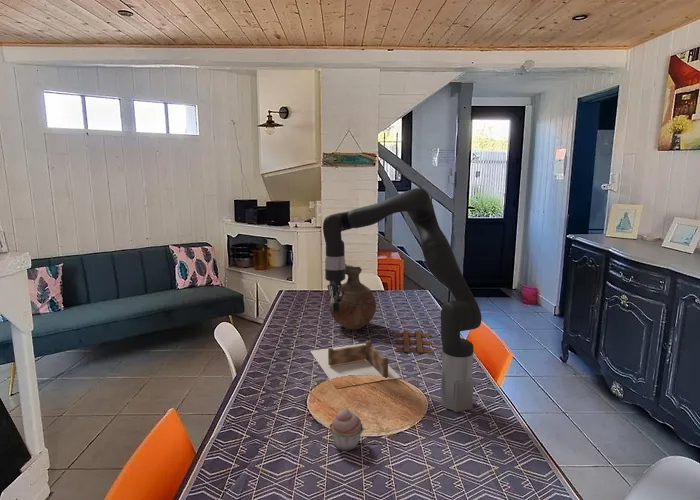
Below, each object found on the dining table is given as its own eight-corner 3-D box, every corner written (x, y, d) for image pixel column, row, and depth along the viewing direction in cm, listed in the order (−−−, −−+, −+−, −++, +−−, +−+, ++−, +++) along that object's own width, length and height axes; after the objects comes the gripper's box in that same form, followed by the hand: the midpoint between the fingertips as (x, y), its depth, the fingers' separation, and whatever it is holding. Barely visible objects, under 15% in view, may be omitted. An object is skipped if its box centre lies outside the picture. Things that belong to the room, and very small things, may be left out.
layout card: (401, 377, 158) (401, 377, 158) (336, 388, 150) (336, 388, 150) (365, 343, 189) (365, 343, 189) (310, 351, 181) (310, 350, 181)
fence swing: (363, 357, 173) (364, 342, 172) (365, 359, 171) (365, 344, 170) (327, 364, 167) (327, 348, 166) (329, 366, 166) (329, 350, 165)
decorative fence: (396, 354, 180) (433, 355, 179) (396, 350, 180) (434, 351, 178) (396, 334, 203) (429, 335, 201) (396, 330, 202) (429, 331, 201)
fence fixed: (389, 377, 158) (389, 357, 157) (383, 378, 157) (383, 358, 156) (370, 358, 174) (370, 340, 173) (364, 359, 174) (364, 340, 172)
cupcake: (371, 442, 120) (371, 408, 118) (347, 459, 113) (347, 422, 112) (345, 429, 126) (345, 396, 125) (321, 444, 119) (321, 409, 118)
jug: (383, 331, 204) (384, 267, 198) (339, 338, 196) (338, 271, 191) (364, 317, 223) (364, 258, 218) (323, 323, 216) (322, 261, 210)
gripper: (350, 269, 163) (351, 315, 166) (338, 263, 176) (339, 306, 178) (331, 271, 161) (331, 318, 164) (320, 264, 173) (321, 308, 176)
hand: (335, 311), depth 171 cm, fingers closed
